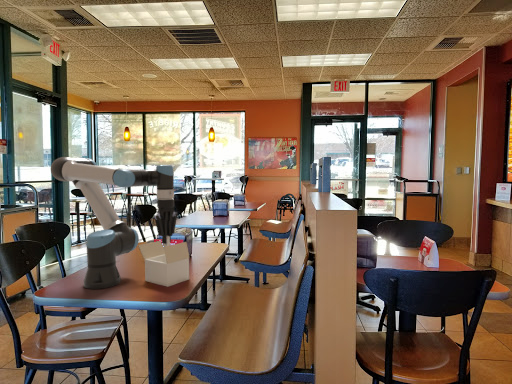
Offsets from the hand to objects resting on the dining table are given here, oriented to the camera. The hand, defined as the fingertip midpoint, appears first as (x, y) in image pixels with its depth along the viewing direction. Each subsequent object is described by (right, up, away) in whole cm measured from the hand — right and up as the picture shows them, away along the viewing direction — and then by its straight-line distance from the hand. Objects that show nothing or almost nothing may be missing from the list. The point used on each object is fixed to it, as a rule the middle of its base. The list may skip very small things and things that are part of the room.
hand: (166, 250), depth 163 cm
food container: (-18, -12, +44) cm, 49 cm away
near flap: (+5, 0, -4) cm, 7 cm away
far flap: (-8, -1, +6) cm, 10 cm away
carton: (0, -14, +1) cm, 14 cm away
